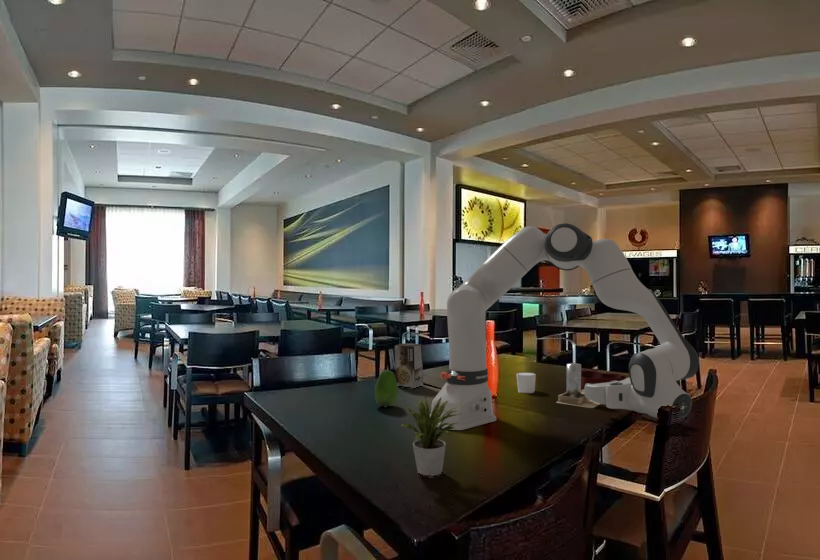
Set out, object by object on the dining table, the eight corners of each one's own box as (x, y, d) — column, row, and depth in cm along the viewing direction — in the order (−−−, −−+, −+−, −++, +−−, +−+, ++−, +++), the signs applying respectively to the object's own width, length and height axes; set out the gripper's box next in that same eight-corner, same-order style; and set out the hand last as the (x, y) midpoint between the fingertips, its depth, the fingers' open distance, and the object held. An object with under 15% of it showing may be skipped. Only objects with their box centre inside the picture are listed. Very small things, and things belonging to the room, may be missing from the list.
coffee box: (423, 386, 194) (423, 344, 194) (415, 389, 189) (414, 346, 189) (403, 383, 199) (403, 342, 199) (394, 386, 193) (394, 344, 193)
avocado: (398, 409, 159) (397, 371, 159) (373, 410, 159) (372, 372, 159) (398, 403, 167) (398, 367, 167) (375, 403, 167) (374, 367, 167)
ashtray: (562, 387, 189) (562, 374, 189) (585, 381, 200) (585, 368, 200) (608, 395, 176) (608, 381, 176) (630, 388, 187) (629, 374, 187)
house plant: (451, 493, 97) (450, 408, 97) (386, 483, 102) (385, 402, 102) (470, 467, 110) (470, 392, 110) (411, 459, 115) (411, 388, 115)
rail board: (592, 410, 155) (592, 401, 155) (555, 404, 163) (555, 396, 163) (618, 396, 174) (618, 388, 173) (583, 391, 181) (583, 383, 181)
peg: (577, 403, 161) (577, 366, 161) (564, 401, 164) (564, 364, 164) (583, 400, 164) (583, 364, 164) (569, 398, 167) (569, 362, 167)
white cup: (538, 395, 176) (537, 375, 176) (518, 395, 176) (518, 375, 176) (533, 391, 183) (533, 371, 183) (514, 391, 183) (514, 372, 183)
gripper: (663, 379, 143) (626, 371, 156) (604, 386, 136) (572, 377, 149) (663, 401, 143) (627, 391, 156) (605, 409, 136) (572, 398, 149)
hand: (599, 384), depth 153 cm, fingers open, 8 cm apart
